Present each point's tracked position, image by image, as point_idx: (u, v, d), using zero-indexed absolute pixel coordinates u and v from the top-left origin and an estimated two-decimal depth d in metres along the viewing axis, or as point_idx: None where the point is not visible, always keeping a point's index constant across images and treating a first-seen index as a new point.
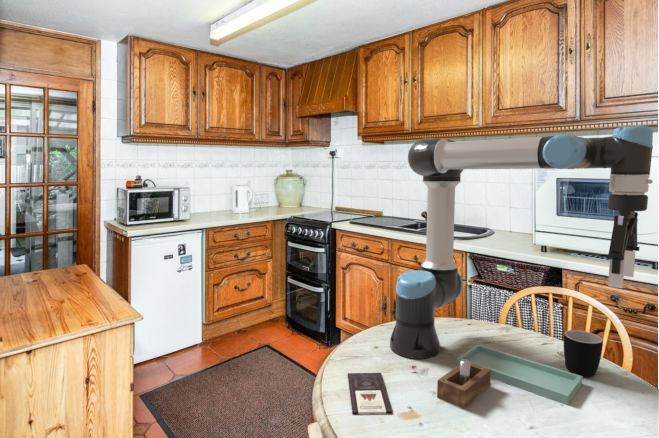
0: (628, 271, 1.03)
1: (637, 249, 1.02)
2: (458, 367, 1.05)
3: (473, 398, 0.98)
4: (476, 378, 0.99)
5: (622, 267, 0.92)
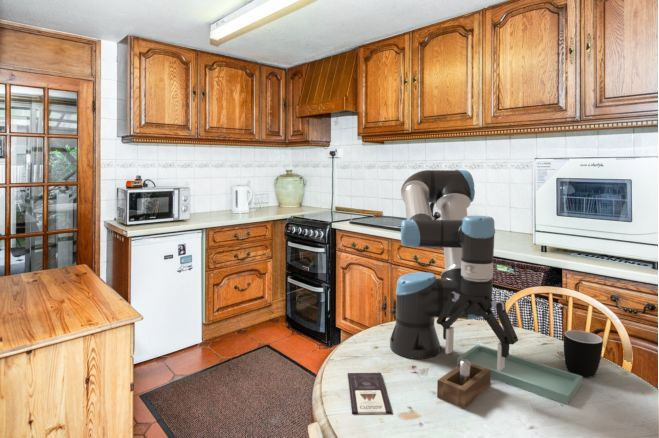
0: None
1: (501, 343, 0.96)
2: (458, 367, 1.05)
3: (473, 398, 0.98)
4: (476, 378, 0.99)
5: None
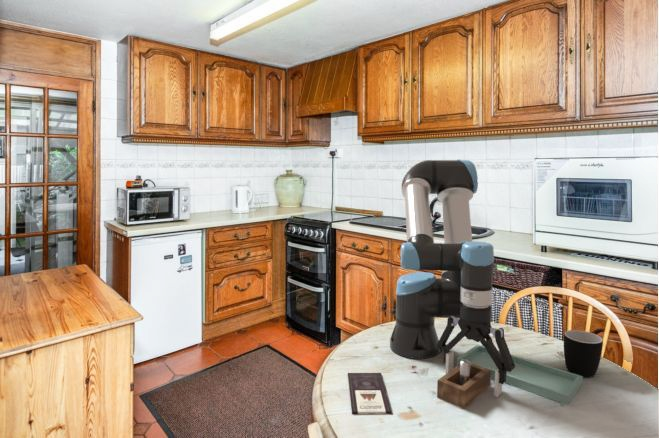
0: None
1: (499, 370, 0.98)
2: (458, 367, 1.05)
3: (473, 398, 0.98)
4: (476, 378, 0.99)
5: None
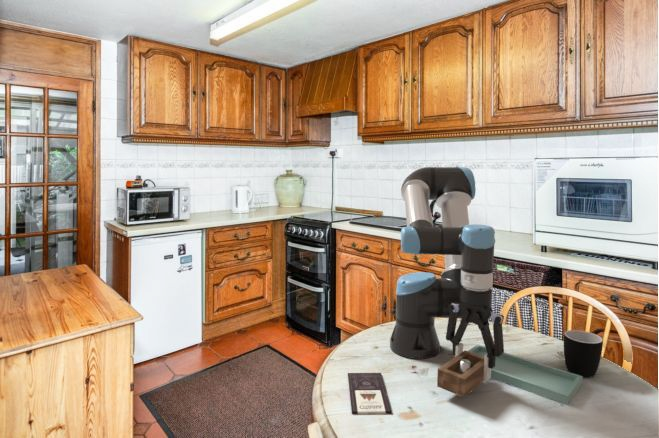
0: None
1: (488, 355, 1.00)
2: (458, 356, 1.05)
3: (473, 387, 0.98)
4: (476, 367, 0.99)
5: None
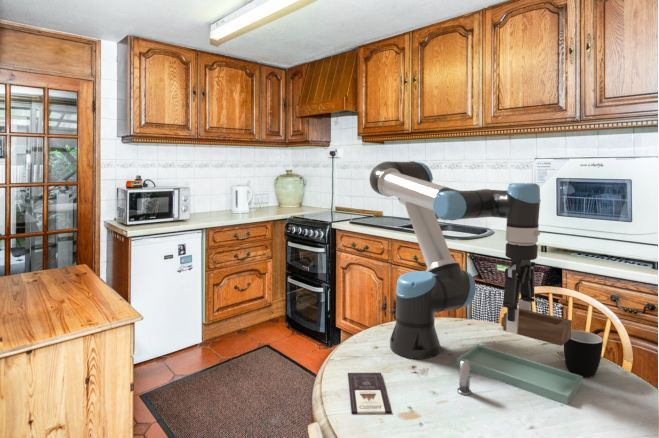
0: None
1: (532, 300, 1.09)
2: (522, 317, 1.04)
3: None
4: (541, 314, 1.06)
5: (516, 315, 1.04)
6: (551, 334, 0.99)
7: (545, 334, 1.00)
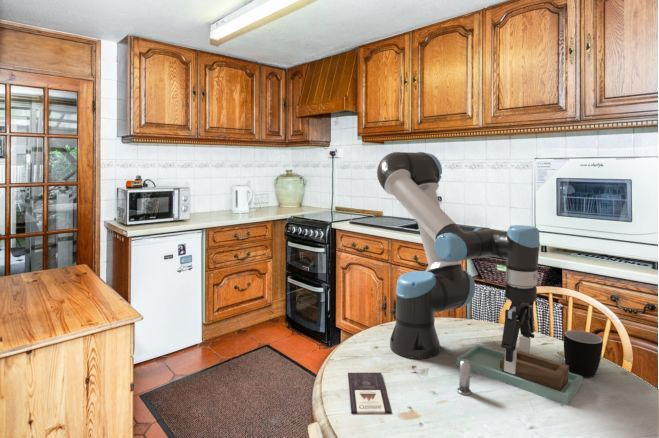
0: None
1: (532, 336, 1.12)
2: (521, 361, 1.06)
3: None
4: (538, 357, 1.08)
5: (514, 356, 1.05)
6: (550, 380, 1.01)
7: (544, 380, 1.02)
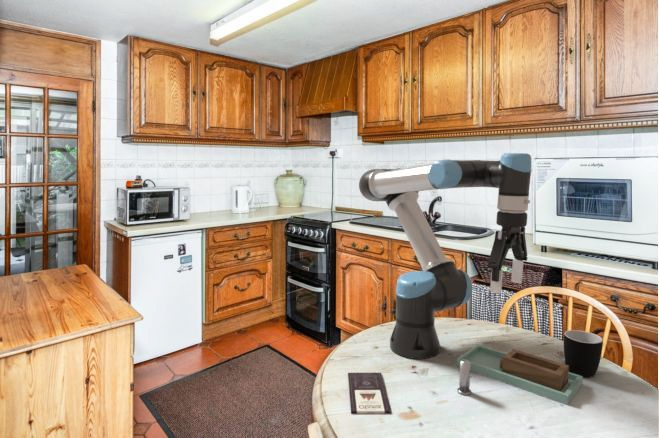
0: (517, 278, 1.17)
1: (525, 259, 1.16)
2: (521, 361, 1.06)
3: None
4: (538, 357, 1.08)
5: (500, 276, 1.06)
6: (550, 380, 1.01)
7: (544, 380, 1.02)
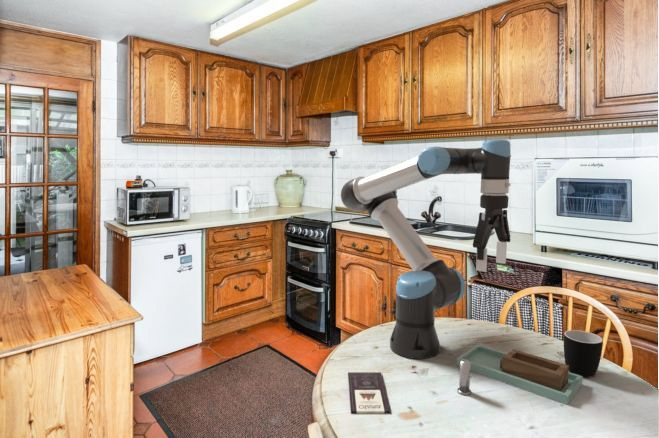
0: (501, 259, 1.24)
1: (508, 240, 1.23)
2: (521, 361, 1.06)
3: None
4: (538, 357, 1.08)
5: (485, 254, 1.13)
6: (550, 380, 1.01)
7: (544, 380, 1.02)
